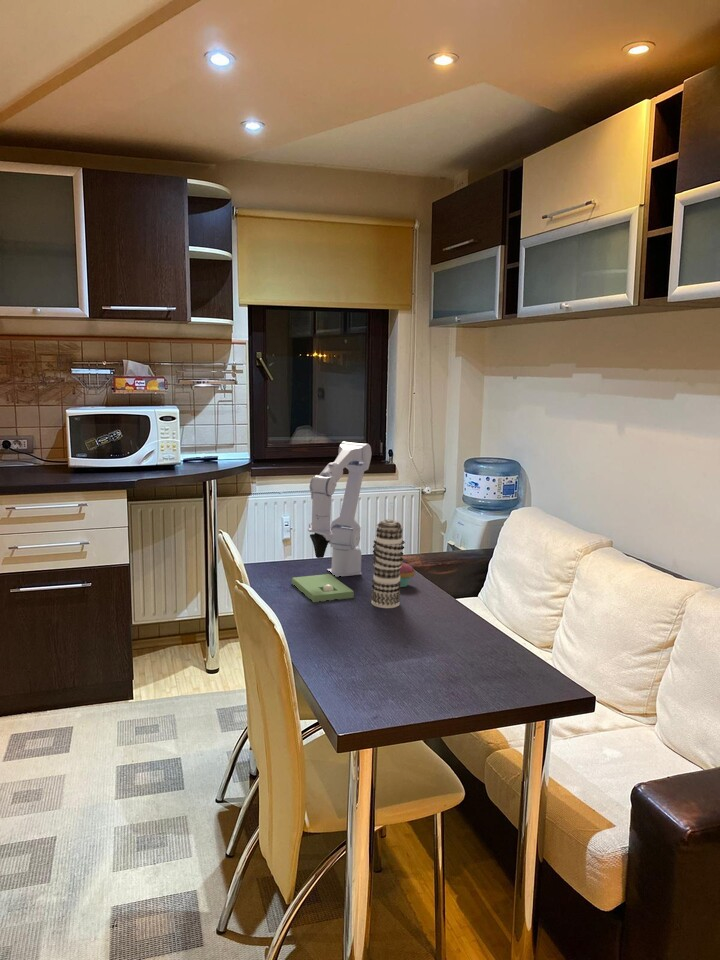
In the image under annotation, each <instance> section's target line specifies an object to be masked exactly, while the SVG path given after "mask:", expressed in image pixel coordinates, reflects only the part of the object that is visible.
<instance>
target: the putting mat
mask: <svg viewBox="0 0 720 960" xmlns="http://www.w3.org/2000/svg"><path fill="white" fill-rule="evenodd" d="M328 584H329V585H331V586H332V587H333V589H334V591H329V592H323V588H324V586H325V585H328ZM291 585H292V586H294V585H295V586H296V587H297V588H298V589H297V588H296V587H295V586H294V587H295V588H296V589H297V590H299V591H300V593H302V592H303V593H304V594H305V597H307V598H308V600H310V599H311V600H312V601H311V600H310V601H311V602H313V603H320V602H319V601H321V602H327V601H326V600H329V601H335V600H334V599H338V600H344V599H353V598H354V590H353V589H351V588H350V587H349V586H347V585H346V584H344V583H343V582H341V581H340V580H339V579H337V577H336V576H334V575H333V574H331V573H327V574H316V575H314V574H313V575H307V576H305V575H304V576H297V577H291ZM303 593H302V594H303Z"/></svg>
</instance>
